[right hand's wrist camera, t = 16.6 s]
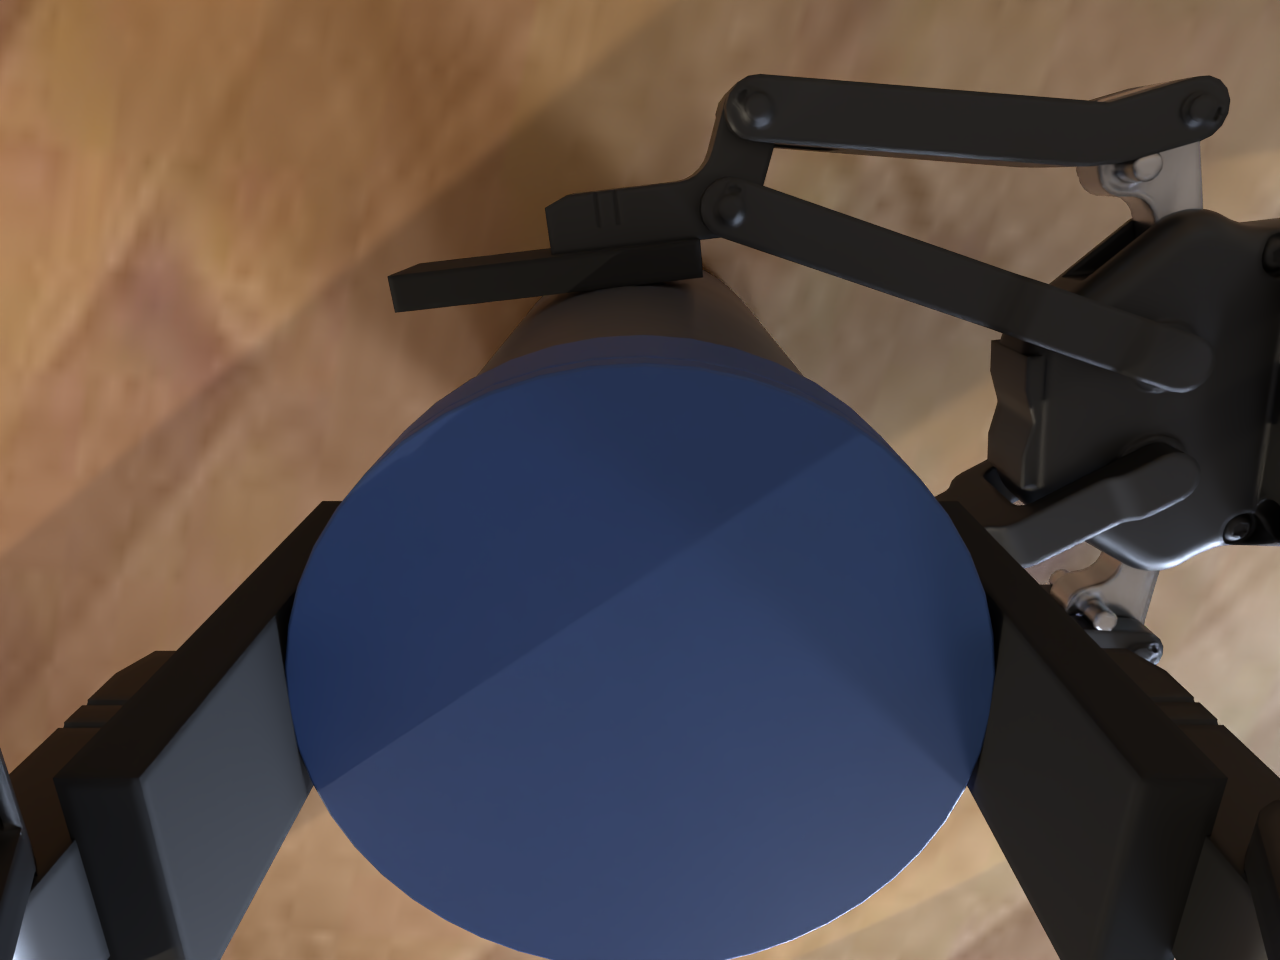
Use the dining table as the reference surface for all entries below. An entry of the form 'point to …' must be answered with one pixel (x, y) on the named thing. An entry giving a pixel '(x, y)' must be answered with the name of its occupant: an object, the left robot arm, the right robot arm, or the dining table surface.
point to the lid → (640, 655)
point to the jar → (643, 319)
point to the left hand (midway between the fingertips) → (447, 473)
